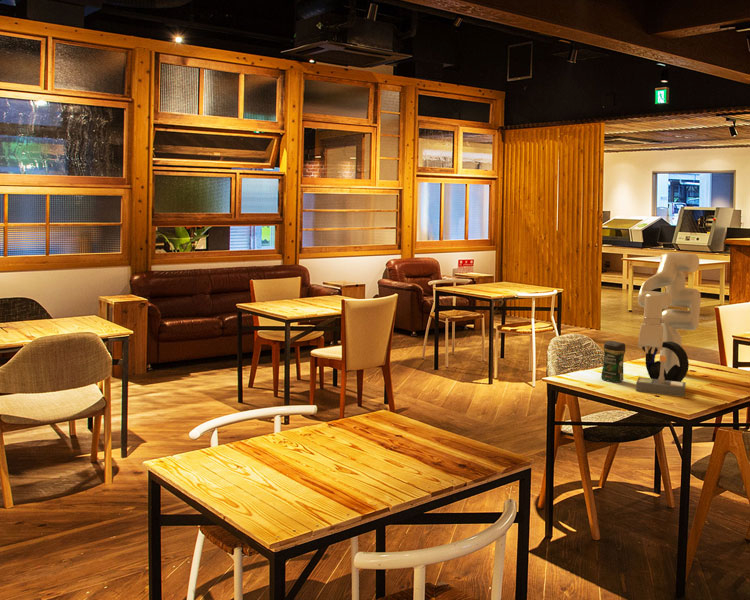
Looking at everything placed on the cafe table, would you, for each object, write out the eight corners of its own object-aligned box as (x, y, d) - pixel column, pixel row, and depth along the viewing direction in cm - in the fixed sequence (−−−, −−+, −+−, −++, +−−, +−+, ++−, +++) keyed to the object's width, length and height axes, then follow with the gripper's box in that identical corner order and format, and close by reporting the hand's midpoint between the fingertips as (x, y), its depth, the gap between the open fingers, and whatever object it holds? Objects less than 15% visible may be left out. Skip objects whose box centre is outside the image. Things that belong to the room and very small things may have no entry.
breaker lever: (658, 380, 346) (660, 355, 344) (664, 381, 345) (666, 355, 344) (658, 381, 343) (660, 356, 342) (663, 382, 342) (665, 357, 341)
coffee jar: (598, 379, 363) (601, 340, 361) (607, 377, 369) (610, 339, 366) (616, 383, 356) (619, 344, 354) (625, 381, 362) (628, 342, 359)
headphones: (687, 388, 352) (691, 345, 349) (679, 390, 348) (683, 346, 345) (651, 380, 366) (654, 338, 363) (643, 381, 362) (646, 339, 359)
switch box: (638, 385, 354) (639, 372, 353) (685, 391, 346) (686, 377, 345) (635, 390, 344) (636, 377, 343) (684, 396, 336) (685, 382, 335)
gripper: (670, 321, 343) (667, 362, 346) (635, 318, 349) (632, 358, 352) (669, 324, 337) (666, 365, 339) (633, 321, 343) (630, 361, 345)
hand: (648, 361), depth 345 cm, fingers closed
